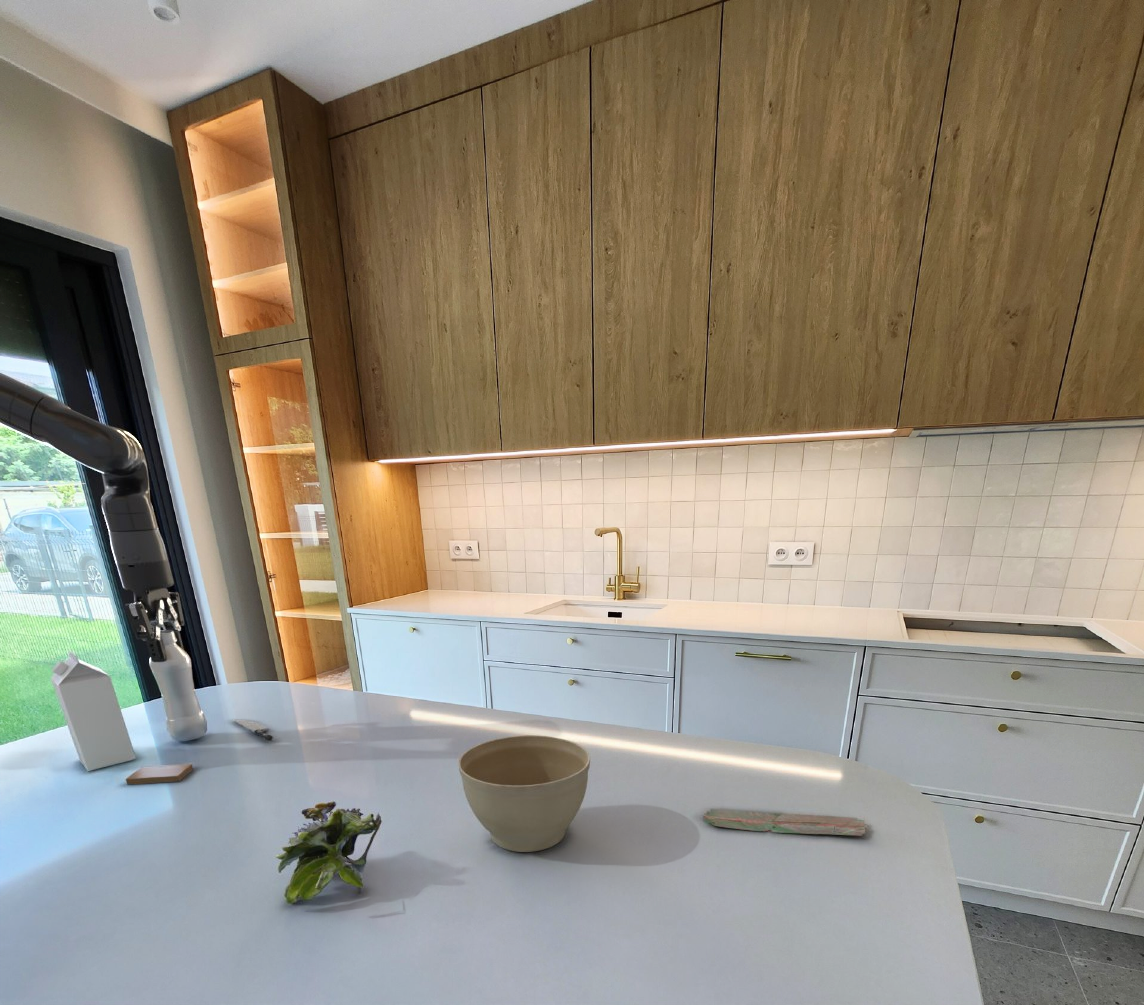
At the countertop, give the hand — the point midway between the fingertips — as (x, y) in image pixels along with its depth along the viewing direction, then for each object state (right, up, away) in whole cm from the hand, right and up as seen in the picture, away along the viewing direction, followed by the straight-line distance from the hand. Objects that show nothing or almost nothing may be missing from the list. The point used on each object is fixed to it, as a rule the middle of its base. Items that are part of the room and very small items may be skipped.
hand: (168, 656), depth 116 cm
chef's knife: (+11, -13, +10) cm, 19 cm away
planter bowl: (+66, -28, -32) cm, 79 cm away
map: (+99, -27, -31) cm, 108 cm away
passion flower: (+45, -33, -41) cm, 69 cm away
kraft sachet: (+5, -21, -10) cm, 24 cm away
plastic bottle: (0, -15, +6) cm, 16 cm away
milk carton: (-9, -19, -3) cm, 21 cm away
